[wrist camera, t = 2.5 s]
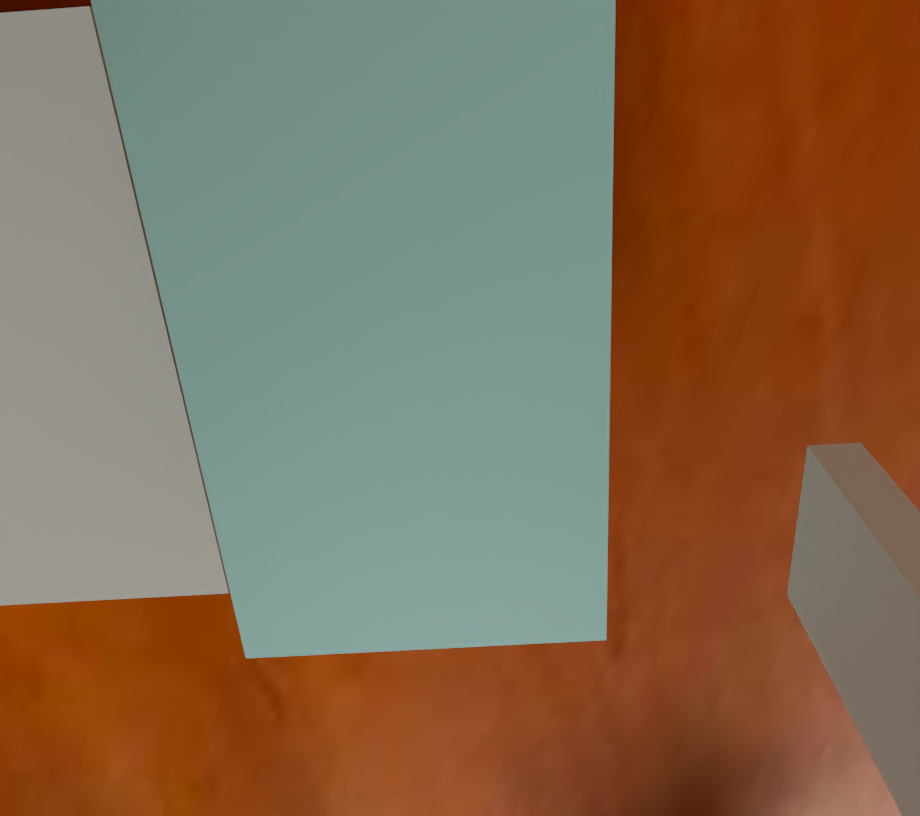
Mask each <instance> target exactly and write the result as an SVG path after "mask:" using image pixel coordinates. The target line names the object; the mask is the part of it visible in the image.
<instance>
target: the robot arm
mask: <svg viewBox="0 0 920 816" xmlns="http://www.w3.org/2000/svg"><path fill="white" fill-rule="evenodd" d="M787 596H788V597H789V599H790V601H791V603H792V605H793V607H794V609H795V611H796V613H797V615H798V617H799V619H800V620H801V622H802V624H803V626H804V628H805V630H806V632H807V634H808V636H809V638H810V640H811V642H812V643H813V645H814V647H815V649H816V651H817V653H818V655H819V657H820V659H821V661H822V663H823V665H824V666H825V668H826V670H827V672H828V674H829V676H830V678H831V680H832V682H833V684H834V686H835V688H836V689H837V691H838V693H839V695H840V697H841V699H842V701H843V703H844V705H845V707H846V709H847V711H848V712H849V714H850V716H851V718H852V720H853V722H854V724H855V726H856V728H857V730H858V732H859V734H860V735H861V737H862V739H863V741H864V743H865V745H866V747H867V749H868V751H869V753H870V755H871V757H872V758H873V760H874V762H875V764H876V766H877V768H878V770H879V772H880V774H881V776H882V778H883V780H884V781H885V783H886V785H887V787H888V789H889V791H890V793H891V795H892V797H893V799H894V801H895V803H896V804H897V806H898V808H899V810H900V812H901V814H902V816H920V511H919V510H918V509H917V508H916V507H915V506H914V504H913V503H912V502H911V501H910V500H909V499H908V497H907V496H906V495H905V494H904V493H903V492H902V490H901V489H900V488H899V487H898V486H897V485H896V483H895V482H894V481H893V480H892V479H891V478H890V476H889V475H888V474H887V473H886V472H885V471H884V469H883V468H882V467H881V466H880V465H879V463H878V462H877V461H876V460H875V459H874V458H873V456H872V455H871V454H870V453H869V452H868V451H867V449H866V448H865V447H864V446H863V445H862V444H861V443H847V444H828V445H809V446H807V453H806V461H805V468H804V475H803V482H802V490H801V497H800V504H799V511H798V518H797V526H796V533H795V540H794V547H793V554H792V562H791V569H790V576H789V583H788V591H787Z"/></svg>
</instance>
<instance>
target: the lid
mask: <svg viewBox="0 0 920 816" xmlns="http://www.w3.org/2000/svg"><path fill="white" fill-rule="evenodd" d="M91 4H92V8H93V13H94V17H95V21H96V25H97V30H98V34H99V38H100V42H101V47H102V51H103V55H104V59H105V64H106V68H107V72H108V76H109V80H110V85H111V89H112V93H113V97H114V102H115V106H116V110H117V114H118V119H119V123H120V127H121V131H122V136H123V140H124V144H125V148H126V153H127V157H128V161H129V165H130V170H131V174H132V178H133V182H134V186H135V191H136V195H137V199H138V203H139V208H140V212H141V216H142V220H143V225H144V229H145V233H146V237H147V242H148V246H149V250H150V254H151V259H152V263H153V267H154V271H155V275H156V280H157V284H158V288H159V292H160V297H161V301H162V305H163V309H164V314H165V318H166V322H167V326H168V331H169V335H170V339H171V343H172V348H173V352H174V356H175V360H176V365H177V369H178V373H179V377H180V381H181V386H182V390H183V394H184V398H185V403H186V407H187V411H188V415H189V420H190V424H191V428H192V432H193V437H194V441H195V445H196V449H197V454H198V458H199V462H200V466H201V470H202V475H203V479H204V483H205V487H206V492H207V496H208V500H209V504H210V509H211V513H212V517H213V521H214V526H215V530H216V534H217V538H218V543H219V547H220V551H221V555H222V559H223V564H224V568H225V572H226V576H227V581H228V585H229V589H230V593H231V598H232V602H233V606H234V610H235V615H236V619H237V623H238V627H239V632H240V636H241V640H242V644H243V649H244V653H245V657H246V658H264V657H284V656H304V655H323V654H343V653H363V652H383V651H402V650H422V649H442V648H461V647H481V646H501V645H521V644H540V643H560V642H580V641H599V640H606V632H607V563H608V494H609V425H610V356H611V287H612V218H613V149H614V80H615V11H616V0H91Z"/></svg>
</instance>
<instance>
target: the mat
mask: <svg viewBox="0 0 920 816" xmlns="http://www.w3.org/2000/svg"><path fill="white" fill-rule="evenodd" d="M229 591H230V589H229V585H228V581H227V576H226V572H225V568H224V564H223V559H222V555H221V551H220V547H219V543H218V538H217V534H216V530H215V526H214V521H213V517H212V513H211V509H210V504H209V500H208V496H207V492H206V487H205V483H204V479H203V475H202V470H201V466H200V462H199V458H198V454H197V449H196V445H195V441H194V437H193V432H192V428H191V424H190V420H189V415H188V411H187V407H186V403H185V398H184V394H183V390H182V386H181V381H180V377H179V373H178V369H177V365H176V360H175V356H174V352H173V348H172V343H171V339H170V335H169V331H168V326H167V322H166V318H165V314H164V309H163V305H162V301H161V297H160V292H159V288H158V284H157V280H156V275H155V271H154V267H153V263H152V259H151V254H150V250H149V246H148V242H147V237H146V233H145V229H144V225H143V220H142V216H141V212H140V208H139V203H138V199H137V195H136V191H135V186H134V182H133V178H132V174H131V170H130V165H129V161H128V157H127V153H126V148H125V144H124V140H123V136H122V131H121V127H120V123H119V119H118V114H117V110H116V106H115V102H114V97H113V93H112V89H111V85H110V80H109V76H108V72H107V68H106V64H105V59H104V55H103V51H102V47H101V42H100V38H99V34H98V30H97V25H96V21H95V17H94V13H93V8H92V6H84V7H71V8H57V9H44V10H31V11H17V12H4V13H0V605H18V604H37V603H56V602H74V601H93V600H112V599H131V598H150V597H169V596H187V595H206V594H225V593H229Z"/></svg>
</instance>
